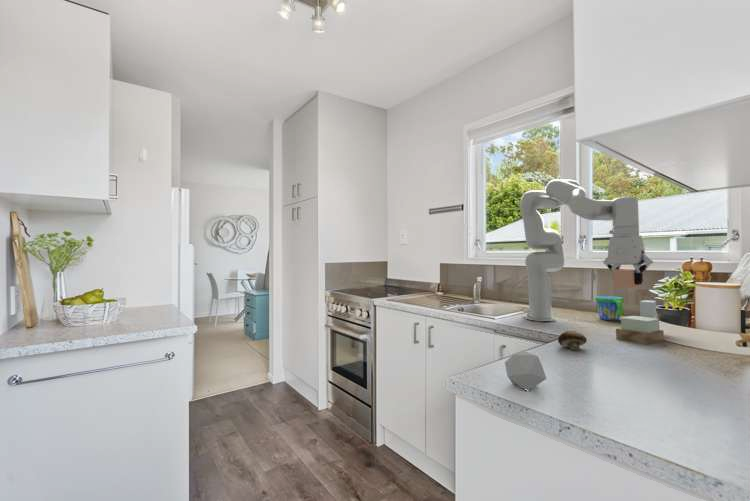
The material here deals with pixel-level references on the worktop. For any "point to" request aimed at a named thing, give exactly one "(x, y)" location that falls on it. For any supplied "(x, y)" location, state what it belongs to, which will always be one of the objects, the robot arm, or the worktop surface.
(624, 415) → the worktop surface
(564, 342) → the mushroom
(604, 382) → the worktop surface
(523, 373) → the die
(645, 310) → the skincare box
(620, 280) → the cube
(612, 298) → the snack cup
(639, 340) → the bottom slab
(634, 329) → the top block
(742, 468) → the worktop surface
